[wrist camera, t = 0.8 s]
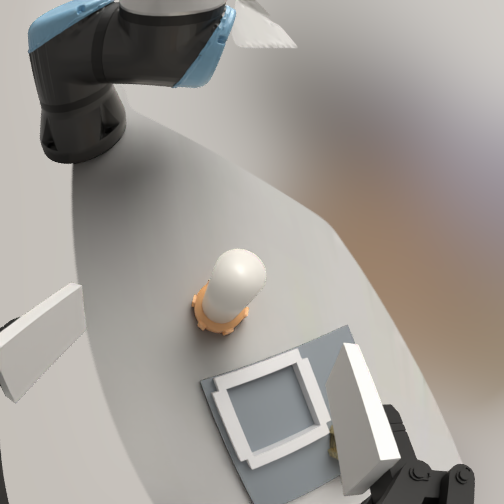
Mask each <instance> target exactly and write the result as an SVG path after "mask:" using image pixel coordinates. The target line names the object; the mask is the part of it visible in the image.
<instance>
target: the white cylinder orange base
mask: <svg viewBox="0 0 504 504" xmlns="http://www.w3.org/2000/svg"><path fill="white" fill-rule="evenodd" d="M265 283H266V269H265V267H264V264H263V263H262V261H261V260H260V259H259V258H258V257H257V256H256V255H255V254H253V253H252V252H250V251H247V250H244V249H232V250H229V251H227V252H225V253H223V254H222V255H221V256H220V257H219V258H218V260H217V261H216V264H215V266H214V269H213V272H212V275H211V277H210V280H208V283H207V284H206V285H205V286H204V287H203V288H202V289H201V290H200V291H199V293H198V295H195V294H194V297H193V301H192V305H191V307H194V313H195V317H196V319H197V321H198V325H197V326H198V327H199V328H200V329H202V330H203V331H204V330H205V329H206V330H208V331H210V332H214V333H222V334H223V336H224V335H227V334H230V333H232V332H233V331H234V329H233V328H234V327H235V326H237V325H238V324H239V323H240V322H241V320H242V319H244V318H245V317H246V316H247V315H248V310H249V308H248V307H246V306H247V305H248V304H249V303H250V302H251V301H252V300H253V299H254V298H255V297H256V296H257V295H258V294H259V293H260V292H261V290H262V289H263V287H264V285H265Z"/></svg>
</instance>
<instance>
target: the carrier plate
mask: <svg viewBox="0 0 504 504" xmlns="http://www.w3.org/2000/svg"><path fill="white" fill-rule="evenodd" d="M343 343H351V344H355V342H354V339H353V337H352V334H351V332H350V329H349V327H348V325H345V326H343V327H341V328H339V329H336V330H334V331H332V332H330V333H328V334H325V335H323V336H321V337H319V338H316V339H314V340H312V341H309V342H307V343H304V344H302V345H300V346H297V347H295V348H292V349H290V350H287V351H285V352H282V353H280V354H277V355H275V356H272V357H269V358H267V359H264V360H261V361H258V362H256V363H253V364H250V365H247V366H244V367H242V368H239V369H236V370H233V371H230V372H227V373H224V374H221V375H217V376H214V377H211V378H208V379H204V380H201V381H200V383H201V385H202V388H203V391H204V394H205V396H206V399H207V401H208V404H209V407H210V409H211V412H212V414H213V417H214V419H215V422H216V424H217V427H218V429H219V431H220V434H221V436H222V438H223V441H224V443H225V445H226V448H227V450H228V452H229V454H230V457H231V459H232V461H233V463H234V465H235V467H236V470H237V472H238V474H239V476H240V478H241V480H242V482H243V484H244V486H245V488H246V490H247V492H248V494H249V496H250V498H251V500H252V502H253V504H286V503H288V502H290V501H292V500H294V499H296V498H298V497H300V496H302V495H304V494H306V493H308V492H310V491H312V490H314V489H316V488H318V487H320V486H321V485H323V484H325V483H327V482H329V481H330V480H332V479H334V478H335V477H337V476H339V475H340V474H341V472H340V466H339V460H337V459H336V458H334V457H331V456H330V455H329V452H328V449H330V435H331V433H330V432H329V430H330V428H331V425H333V423H332V418H331V412H330V407H329V402H328V396H327V391H326V386H325V384H326V382H327V380H328V378H329V375H330V373H331V371H332V369H333V366H334V364H335V362H336V359H337V357H338V355H339V352H340V350H341V347H342V345H343Z"/></svg>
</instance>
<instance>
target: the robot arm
mask: <svg viewBox="0 0 504 504" xmlns="http://www.w3.org/2000/svg"><path fill="white" fill-rule="evenodd" d="M226 1H227V0H119V2H116V3H115V2H114V0H73V1H70V2H68V3H65V4H63V5H61V6H58V7H56V8H54V9H52V10H50V11H48V12H47V13H45V14H43V15H42V16H40V17H39V18H37V19H36V20H35V21H34V22H33V23H32V25H31V26H30V28H29V31H28V43H29V50H28V53H29V56H30V62H31V67H32V71H33V76H34V80H35V85H36V89H37V92H38V97H39V100H40V104H41V109H42V111H41V125H40V126H41V127H40V140H41V145H42V147H43V150H44V152H45V154H46V156H47V157H48V158H49V159H51V160H52V161H55V162H58V163H64V164H71V163H78V162H82V161H86V160H89V159H92V158H94V157H96V156H98V155H100V154H102V153H103V152H105V151H107V150H108V149H109V148H111V147H112V146H113V145H114V144H115V143H116V142H117V141H118V140H119V139H120V137H121V136H122V134H123V133H124V130H125V127H126V113H125V109H124V106H123V104H122V102H121V100H120V98H119V96H118V94H117V92H116V90H115V88H114V85H113V84H141V85H155V86H167V87H172V88H177V87H191V88H197V87H201V86H204V85H205V84H207V83H208V82H209V80H210V79H211V77H212V75H213V73H214V71H215V69H216V67H217V64H218V62H219V60H220V57H221V55H222V52H223V49H224V47H225V42H226V41H227V39H228V36H229V34H230V32H231V29H232V26H233V23H234V20H235V16H236V11H235V9H233V8H230V6H225V4H226ZM86 330H87V327H86V319H85V311H84V302H83V290H82V285H79V284H76V283H73V282H71V283H69V284H68V285H66V286H65V287H63V288H62V289H60V290H59V291H57V292H56V293H54V294H53V295H51V296H50V297H48V298H47V299H46V300H44V301H43V302H41V303H40V304H38V305H37V306H36V307H34V308H33V309H31V310H30V311H28V312H27V313H26V314H24V315H23V316H22V317H18V318H16V319H13V320H11V321H9V322H8V323H7V324H5V325H4V327H1V328H0V386H1V388H2V390H3V392H4V394H5V396H7V397H8V398H9V399H10V400H12V401H13V402H14V403H17V402H18V401H19V400H20V399H21V397H22V396H23V395H24V394H25V393H26V392H27V391H28V390H29V389H30V388H31V387H32V385H33V384H34V383H35V382H36V381H37V380H38V379H39V378H40V377H41V376H42V374H44V373H45V372H46V370H47V369H48V368H49V367H50V366H51V365H52V364H53V363H54V362H55V361H56V360H57V359H58V358H59V357H60V356H61V355H62V354H63V353H64V352H65V351H66V350H67V349H68V348H69V347H70V346H71V345H72V344H73V343H74V342H75V341H76V340H77V339H78V338H79V337H80V336H81V335H82V334H83V333H84V332H85V331H86ZM325 386H326V391H327V396H328V402H329V407H330V412H331V418H332V423H333V429H334V435H335V441H336V447H337V453H338V459H339V466H340V472H341V479H342V486H343V494H344V496H350V495H360V494H363V493H364V492H366V491H367V490H368V489H369V488H370V490H371V495H370V496H369V497H368V498H367V499H366V500H364V501H363V502H362V503H361V504H474V487H475V482H474V481H475V478H474V473H473V471H472V470H471V468H469V467H468V466H466V465H464V464H457V465H455V466H453V467H452V468H451V469H450V470H449V471H448V472H447V471H434V470H431V468H430V467H429V465H428V464H426V463H425V462H423V461H420V460H417V458H416V456H415V453H414V450H413V447H412V445H411V442H410V440H409V437H408V434H407V432H405V430H406V429H405V427H404V424H402V423H403V422H402V419H401V417H400V414H399V413H398V411H397V410H396V409H395V408H394V407H393V406H392V405H382V403H381V400H380V398H379V395H378V392H377V390H376V387H375V385H374V382H373V380H372V377H371V375H370V372H369V370H368V367H367V365H366V362H365V360H364V358H363V355H362V353H361V350H360V348H359V346H358V344H351V343H343V345H342V347H341V350H340V352H339V355H338V357H337V359H336V362H335V364H334V366H333V369H332V371H331V373H330V375H329V378H328V380H327V382H326V384H325ZM0 504H9V502H8V498H7V493H6V488H5V482H4V477H3V470H2V461H1V451H0Z"/></svg>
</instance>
